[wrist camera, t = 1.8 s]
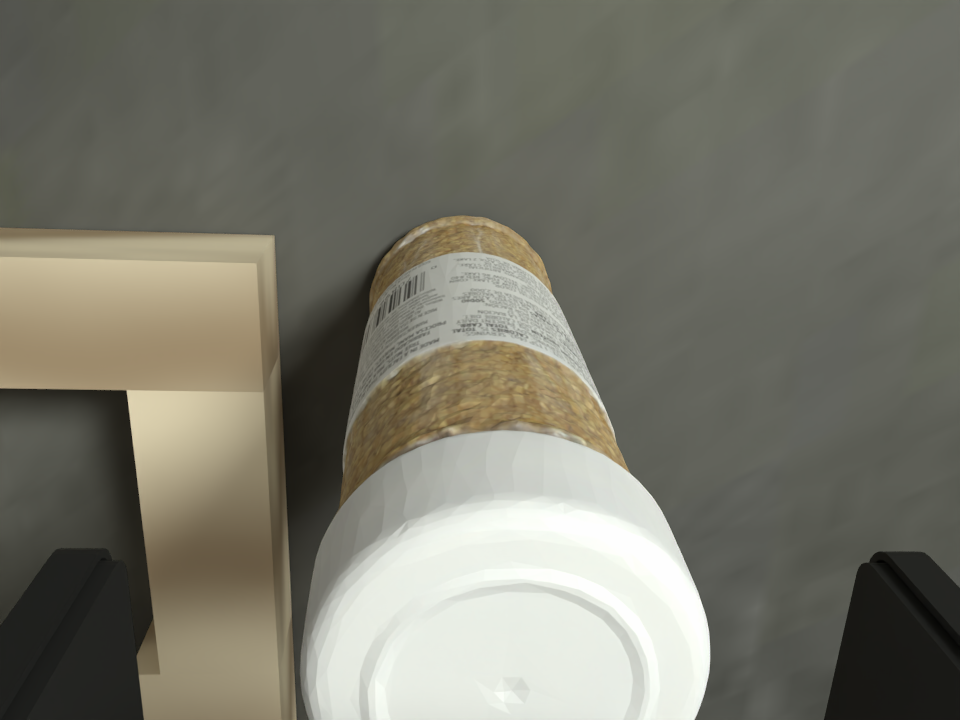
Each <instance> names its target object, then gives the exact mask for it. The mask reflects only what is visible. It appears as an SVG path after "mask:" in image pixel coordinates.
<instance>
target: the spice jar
mask: <svg viewBox="0 0 960 720" xmlns="http://www.w3.org/2000/svg"><path fill="white" fill-rule="evenodd" d="M369 302H370V317H369V319H368V323H367V326H366V329H365V333H364V338H363V343H362V348H361V354H360V359H359V365H358V371H357V376H356V381H355V386H354V392H353V397H352V403H351V408H350V413H349V418H348V424H347V430H346V437H345V443H344V450H343V482H342V487H341V499H340V505H339V509H338V511H337V513H336V515H335V517H334V518H333V520H332V522H331V524H330V525H329V527H328V529H327V531H326V533H325V535H324V537H323V539H322V541H321V544H320V547H319V550H318V553H317V556H316V560H315V565H314V570H313V576H312V581H311V587H310V593H309V599H308V605H307V612H306V619H305V626H304V633H303V641H302V648H301V660H300V679H301V692H302V697H303V701H304V705H305V709H306V713H307V716H308V719H309V720H694V719H695V717H696V715H697V713H698V710H699V708H700V705H701V702H702V700H703V696H704V693H705V689H706V684H707V680H708V675H709V668H710V639H709V629H708V624H707V619H706V615H705V612H704V609H703V606H702V603H701V600H700V597H699V594H698V591H697V589H696V586H695V584H694V582H693V579H692V577H691V575H690V572H689V570H688V568H687V566H686V563H685V561H684V559H683V556H682V554H681V552H680V549H679V547H678V545H677V543H676V540H675V538H674V536H673V534H672V531H671V529H670V527H669V525H668V523H667V521H666V519H665V517H664V515H663V513H662V511H661V509H660V508H659V506H658V505H657V503H656V502H655V500H654V499H653V497H652V496H651V495H650V494H649V492H648V491H647V490H646V489H645V488H644V487H643V486H642V484H641V483H640V482H639V481H638V480H637V479H635V478H634V477H633V476H632V475H631V474H630V472H629V470H628V468H627V466H626V464H625V462H624V459H623V456H622V454H621V452H620V450H619V448H618V446H617V443H616V439H615V435H614V430H613V428H612V425H611V422H610V420H609V417H608V415H607V412H606V410H605V407H604V405H603V403H602V401H601V398H600V396H599V394H598V392H597V389H596V387H595V384H594V382H593V380H592V378H591V375H590V373H589V371H588V368H587V366H586V364H585V362H584V359H583V357H582V355H581V352H580V350H579V348H578V345H577V343H576V341H575V339H574V337H573V334H572V332H571V330H570V328H569V325H568V323H567V321H566V319H565V317H564V315H563V312H562V310H561V308H560V306H559V304H558V303H557V301H556V299H555V298H554V296H553V295H552V290H551V284H550V281H549V279H548V276H547V273H546V270H545V267H544V264H543V262H542V260H541V258H540V256H539V255H538V254H537V253H536V252H535V251H534V250H533V249H532V248H531V247H530V246H529V244H528V243H527V241H526V240H524V239H523V238H522V237H521V236H520V235H518V234H517V233H515V232H514V231H513V230H511V229H510V228H509V227H507V226H504V225H502V224H499V223H497V222H495V221H492V220H490V219H487V218H484V217H472V216H453V217H444V218H439V219H436V220H434V221H430V222H427V223H424V224H422V225H420V226H418V227H416V228H414V229H412V230H411V231H409V232H408V233H407V234H406V235H405V236H404V237H403V238H401V239H400V240H398V241H397V242H396V243H395V244H394V246H393V247H392V249H391V250H390V251H389V252H388V253H387V254H386V255H385V256H384V257H383V259H382V261H381V263H380V264H379V266H378V268H377V271H376V275H375V277H374V280H373V282H372V286H371V290H370V299H369Z"/></svg>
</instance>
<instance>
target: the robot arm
mask: <svg viewBox="0 0 960 720" xmlns="http://www.w3.org/2000/svg"><path fill="white" fill-rule="evenodd" d="M0 720H144V716H143V707H142V699H141V690H140V681H139V673H138V664H137V655H136V647H135V638H134V629H133V621H132V612H131V603H130V594H129V586H128V577H127V570H126V566H125V564H124V562H123V561H112V558H111V555H110V553H109V551H108V550H107V549H80V548H61V549H56V550H55V551H54V552H53V553H52V555H51V556H50V557H49V559H48V560H47V562H46V563H45V564H44V566H43V567H42V569H41V570H40V571H39V573H38V574H37V576H36V577H35V578H34V580H33V581H32V583H31V584H30V585H29V587H28V588H27V590H26V591H25V592H24V594H23V595H22V597H21V598H20V599H19V601H18V602H17V604H16V605H15V606H14V608H13V609H12V611H11V612H10V613H9V615H8V616H7V618H6V619H5V620H4V622H3V623H2V625H1V626H0ZM824 720H960V588H959V587H958V586H957V585H956V584H955V583H954V582H953V581H952V580H951V579H950V577H949V576H948V575H947V574H946V573H945V572H944V571H943V570H942V569H941V568H940V567H939V566H938V565H937V564H936V563H935V562H934V561H933V560H932V559H931V558H930V557H929V556H928V555H926V554H925V553H923V552H877V553H875V554H874V555H873V556H872V558H871V559H870V562H869V563H863V564H861V566H860V567H859V569H858V571H857V575H856V579H855V584H854V588H853V593H852V597H851V602H850V606H849V611H848V615H847V620H846V624H845V628H844V633H843V637H842V642H841V646H840V651H839V655H838V660H837V664H836V669H835V673H834V678H833V682H832V687H831V691H830V696H829V700H828V705H827V709H826V714H825V718H824Z"/></svg>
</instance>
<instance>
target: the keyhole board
mask: <svg viewBox="0 0 960 720" xmlns="http://www.w3.org/2000/svg"><path fill="white" fill-rule="evenodd" d="M0 388H15V389H79V390H127V397H128V406H129V414H130V423H131V431H132V440H133V448H134V456H135V465H136V473H137V482H138V490H139V499H140V507H141V515H142V524H143V532H144V541H145V549H146V558H147V566H148V575H149V583H150V591H151V600H152V608H153V617H154V618H153V620H152V622H151V624H150V627H149V629H148V631H147V634H146V636H145V638H144V640H143V643H142V645H141V647H140V650H139V652H138V654H137V664H138V673H139V681H140V690H141V699H142V707H143V716H144V720H297V718H296V696H295V674H294V652H293V630H292V609H291V587H290V565H289V543H288V521H287V499H286V478H285V456H284V434H283V412H282V390H281V368H280V347H279V325H278V303H277V281H276V259H275V237H274V235H245V234H209V233H173V232H137V231H101V230H65V229H29V228H0Z"/></svg>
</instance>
